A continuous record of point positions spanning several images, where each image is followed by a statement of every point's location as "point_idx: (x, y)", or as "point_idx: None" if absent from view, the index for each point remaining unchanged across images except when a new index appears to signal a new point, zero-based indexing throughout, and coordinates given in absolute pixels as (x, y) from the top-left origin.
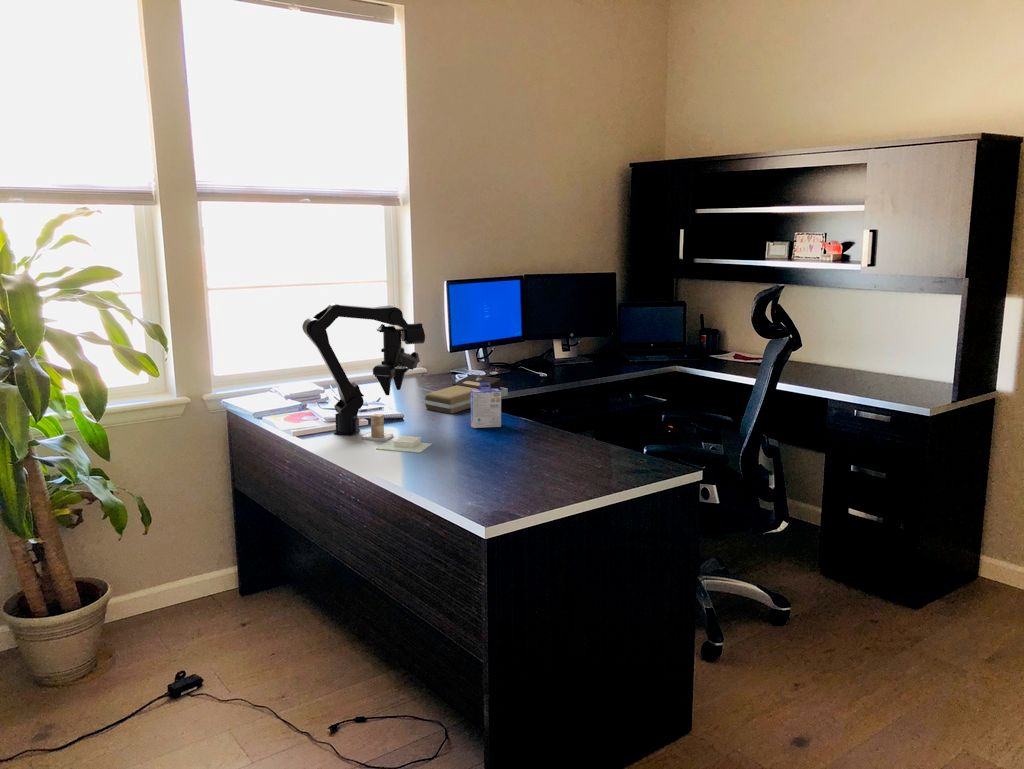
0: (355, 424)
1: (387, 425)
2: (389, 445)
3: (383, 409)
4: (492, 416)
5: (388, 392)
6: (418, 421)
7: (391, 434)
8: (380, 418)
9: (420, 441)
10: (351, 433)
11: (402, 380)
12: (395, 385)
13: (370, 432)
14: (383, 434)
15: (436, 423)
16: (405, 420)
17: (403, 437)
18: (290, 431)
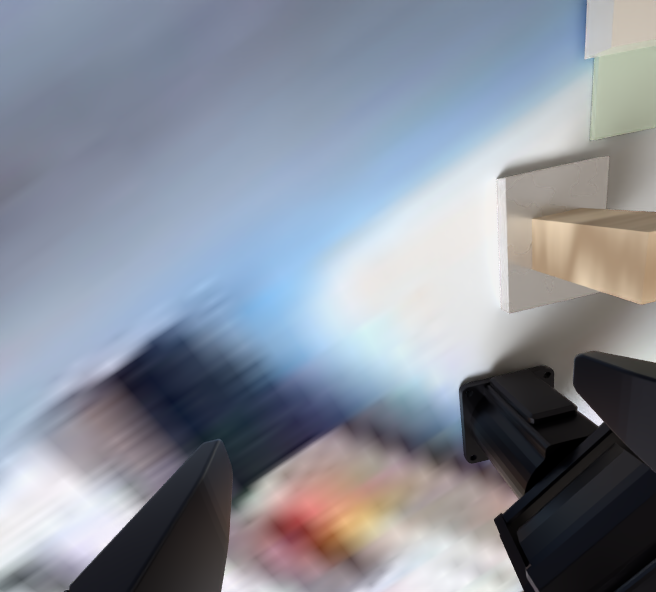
0: (556, 391)
1: (299, 347)
2: None
3: (24, 556)
4: None
5: (639, 367)
6: (114, 252)
7: (519, 180)
8: None
9: None
10: (543, 375)
11: (97, 569)
12: (228, 541)
13: (514, 306)
14: (541, 217)
15: (76, 107)
16: (146, 332)
17: (650, 11)
18: None
